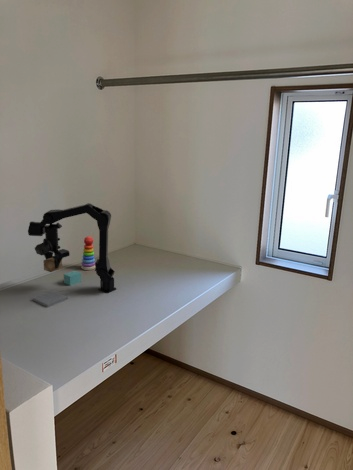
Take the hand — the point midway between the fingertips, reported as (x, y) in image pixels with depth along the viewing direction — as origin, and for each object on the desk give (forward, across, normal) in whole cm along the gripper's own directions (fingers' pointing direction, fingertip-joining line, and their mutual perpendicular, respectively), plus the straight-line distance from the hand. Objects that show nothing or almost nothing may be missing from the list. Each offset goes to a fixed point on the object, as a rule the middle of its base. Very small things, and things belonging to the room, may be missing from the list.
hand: (53, 267), depth 185 cm
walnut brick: (+1, 0, 0) cm, 1 cm away
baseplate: (+11, +10, -10) cm, 18 cm away
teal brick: (+11, +2, +10) cm, 15 cm away
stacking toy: (+11, -7, +29) cm, 32 cm away
